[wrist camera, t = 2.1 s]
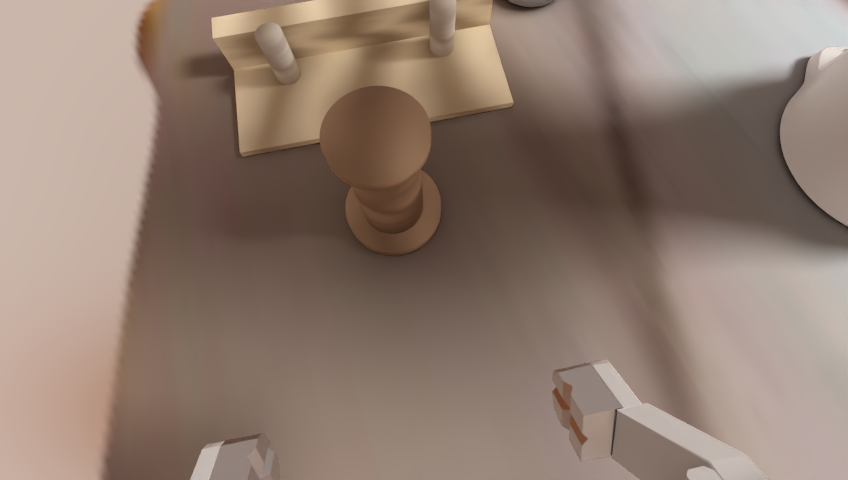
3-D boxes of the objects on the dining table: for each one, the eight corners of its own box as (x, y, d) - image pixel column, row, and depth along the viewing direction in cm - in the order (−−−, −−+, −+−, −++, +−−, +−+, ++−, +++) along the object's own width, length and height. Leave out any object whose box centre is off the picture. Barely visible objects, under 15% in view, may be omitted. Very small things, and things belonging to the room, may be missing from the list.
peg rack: (482, 12, 36) (490, -42, 31) (512, 106, 33) (525, 62, 28) (235, 55, 35) (204, 7, 30) (243, 156, 32) (210, 120, 27)
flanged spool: (430, 161, 32) (429, 63, 21) (449, 245, 30) (459, 182, 19) (342, 178, 31) (298, 87, 21) (355, 264, 29) (314, 210, 19)
